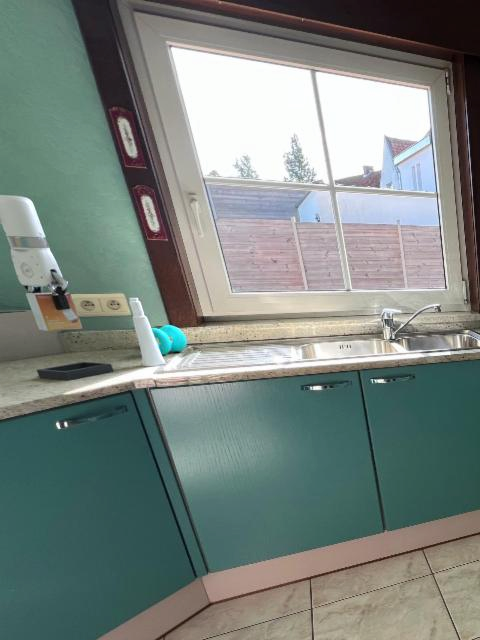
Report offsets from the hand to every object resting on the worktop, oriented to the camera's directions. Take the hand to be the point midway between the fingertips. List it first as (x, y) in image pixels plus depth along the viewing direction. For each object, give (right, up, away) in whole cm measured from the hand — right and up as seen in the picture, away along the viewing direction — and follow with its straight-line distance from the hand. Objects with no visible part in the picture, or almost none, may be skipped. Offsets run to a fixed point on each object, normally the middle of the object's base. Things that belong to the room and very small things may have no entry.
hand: (53, 308), depth 146 cm
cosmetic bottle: (+10, -13, +23) cm, 28 cm away
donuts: (-1, -6, +40) cm, 41 cm away
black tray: (0, -19, +7) cm, 20 cm away
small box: (0, -6, +2) cm, 6 cm away
